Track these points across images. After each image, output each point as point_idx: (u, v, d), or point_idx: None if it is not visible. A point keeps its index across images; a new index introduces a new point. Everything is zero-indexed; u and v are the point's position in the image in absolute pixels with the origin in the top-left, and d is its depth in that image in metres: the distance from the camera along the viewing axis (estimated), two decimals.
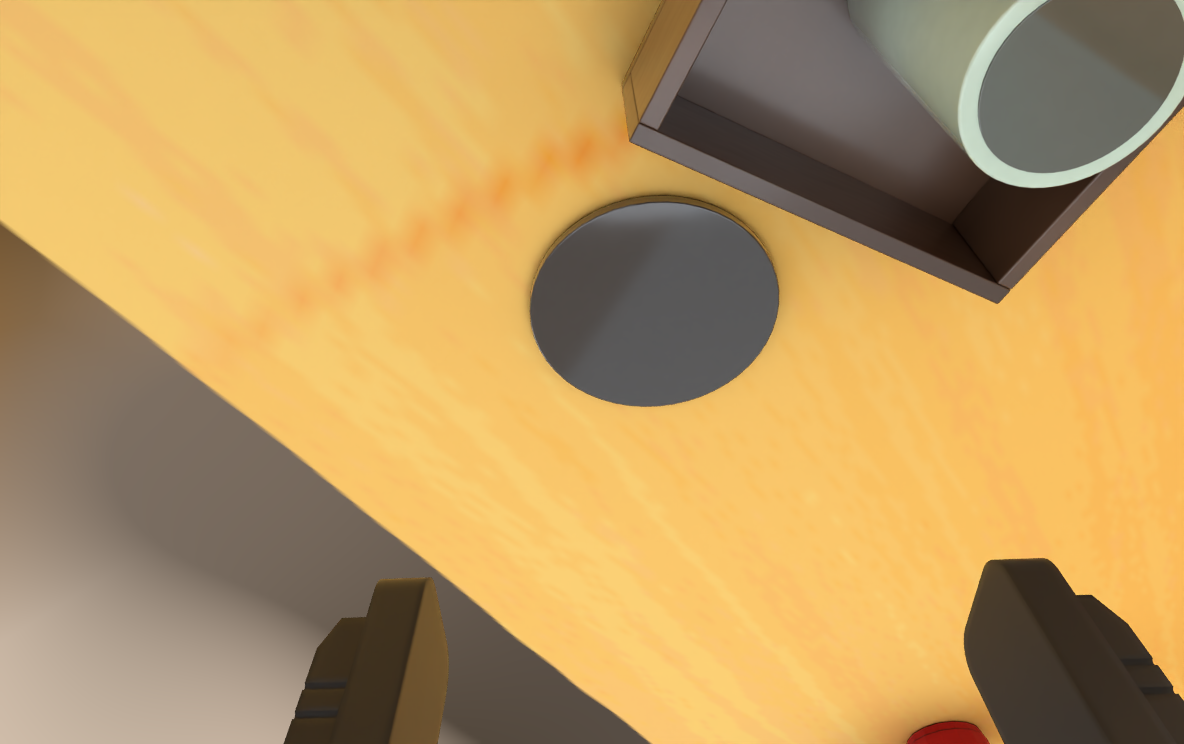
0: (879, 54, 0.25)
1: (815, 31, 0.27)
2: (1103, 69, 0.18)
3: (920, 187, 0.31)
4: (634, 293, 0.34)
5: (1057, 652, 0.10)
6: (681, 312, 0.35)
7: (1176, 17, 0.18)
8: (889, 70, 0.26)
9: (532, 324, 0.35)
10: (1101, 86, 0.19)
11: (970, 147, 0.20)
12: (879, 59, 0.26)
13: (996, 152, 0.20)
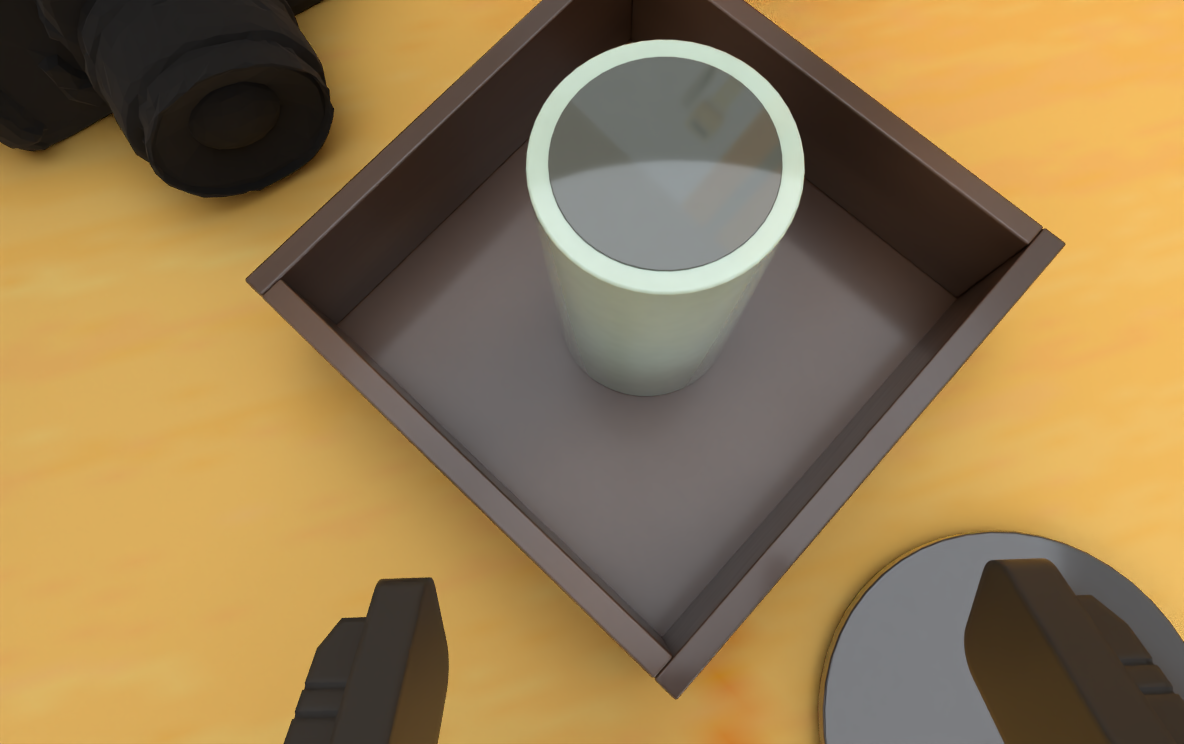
0: (678, 370, 0.22)
1: (664, 433, 0.24)
2: (656, 136, 0.16)
3: (894, 332, 0.25)
4: None
5: (1057, 652, 0.10)
6: None
7: (620, 69, 0.16)
8: (702, 361, 0.22)
9: None
10: (677, 136, 0.16)
11: (713, 280, 0.15)
12: (698, 370, 0.23)
13: (729, 248, 0.15)
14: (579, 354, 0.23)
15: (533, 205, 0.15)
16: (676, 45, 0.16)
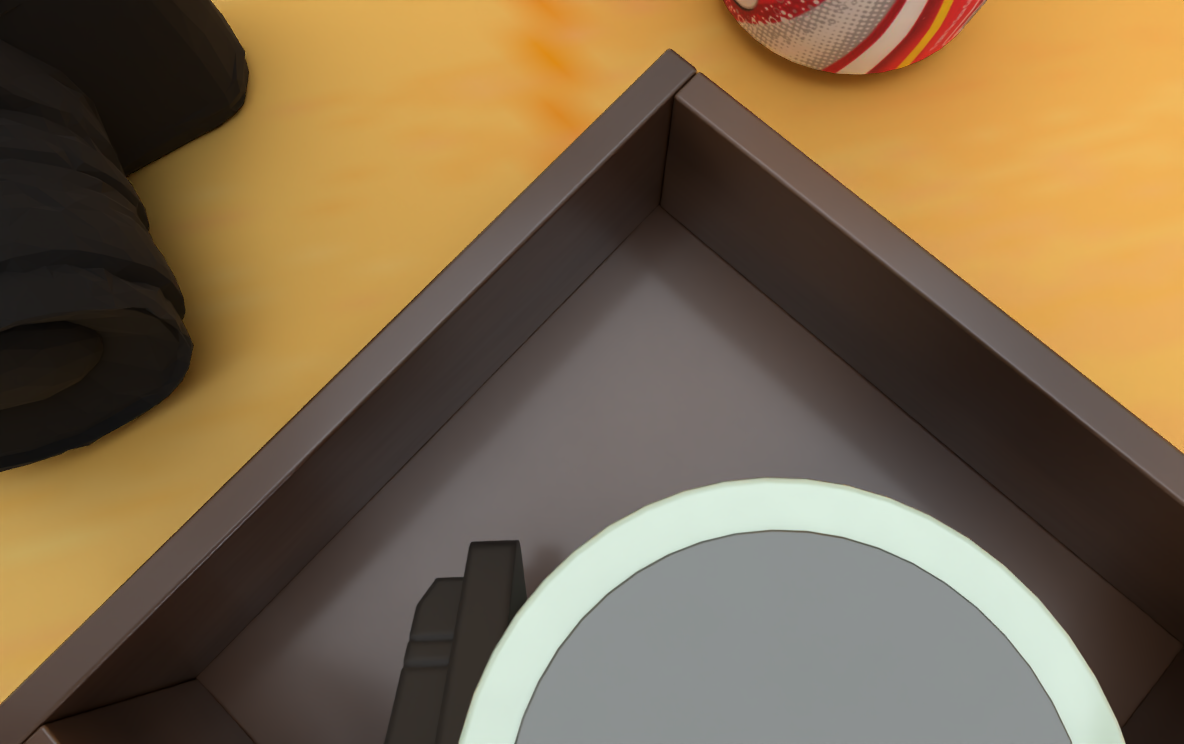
0: None
1: None
2: None
3: None
4: None
5: None
6: None
7: (681, 563, 0.07)
8: None
9: None
10: None
11: None
12: None
13: None
14: None
15: None
16: (814, 499, 0.07)
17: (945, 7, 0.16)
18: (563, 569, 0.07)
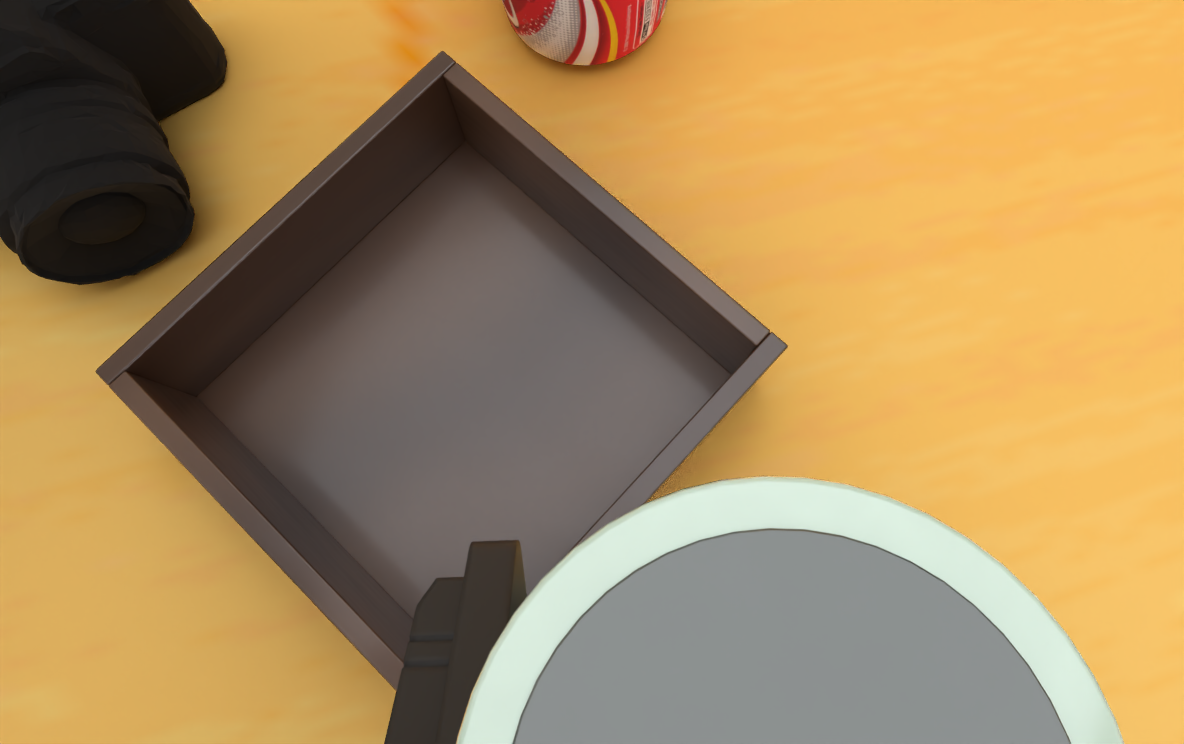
0: None
1: (475, 494, 0.28)
2: None
3: (678, 407, 0.29)
4: None
5: None
6: None
7: (678, 560, 0.07)
8: None
9: None
10: None
11: None
12: None
13: None
14: None
15: None
16: (812, 498, 0.07)
17: (612, 27, 0.29)
18: (561, 568, 0.07)
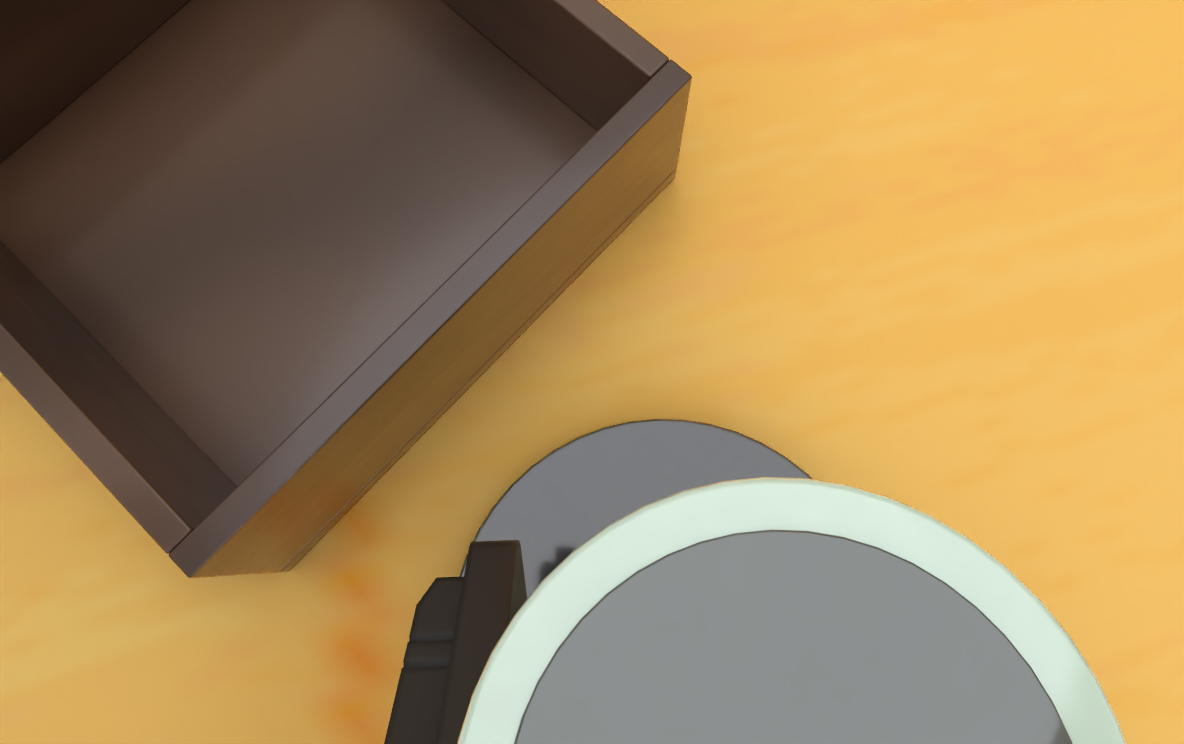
0: None
1: (307, 313, 0.22)
2: None
3: None
4: None
5: None
6: None
7: (679, 563, 0.07)
8: None
9: None
10: None
11: None
12: None
13: None
14: None
15: None
16: (814, 500, 0.07)
17: None
18: (562, 569, 0.07)
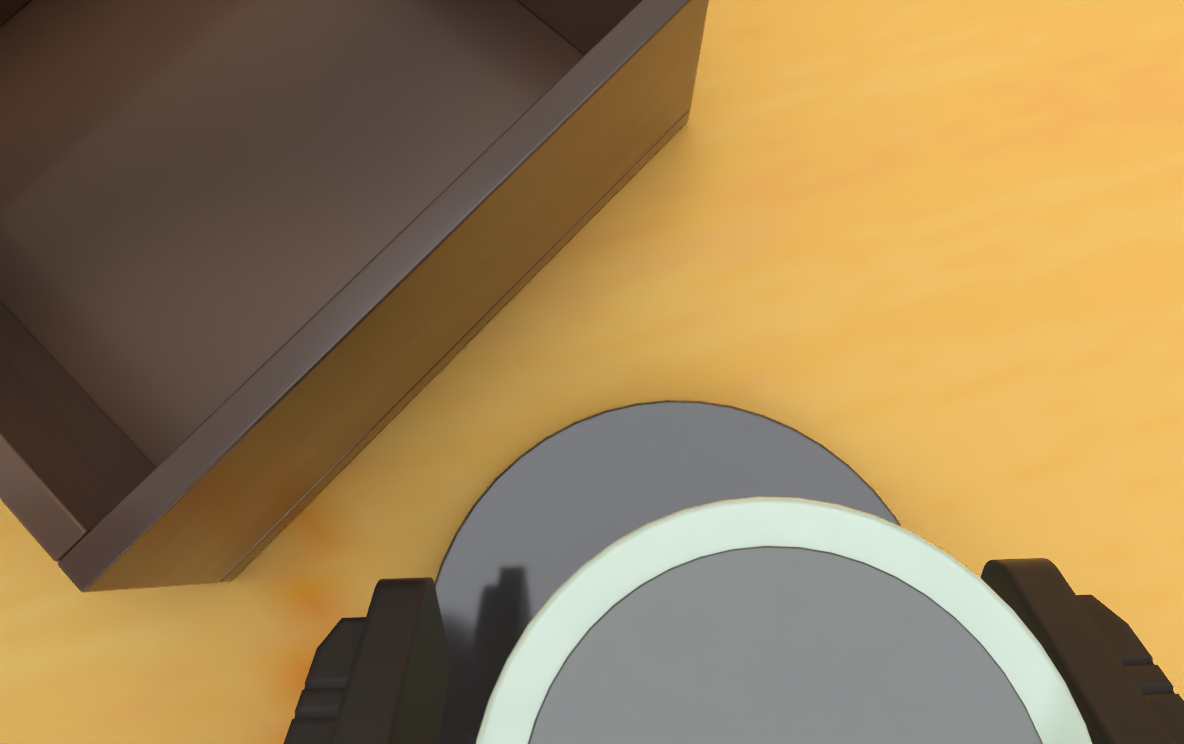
0: None
1: (256, 277, 0.19)
2: None
3: None
4: None
5: (1057, 652, 0.10)
6: None
7: (681, 576, 0.07)
8: None
9: None
10: None
11: None
12: None
13: None
14: None
15: None
16: (804, 517, 0.07)
17: None
18: (572, 582, 0.07)
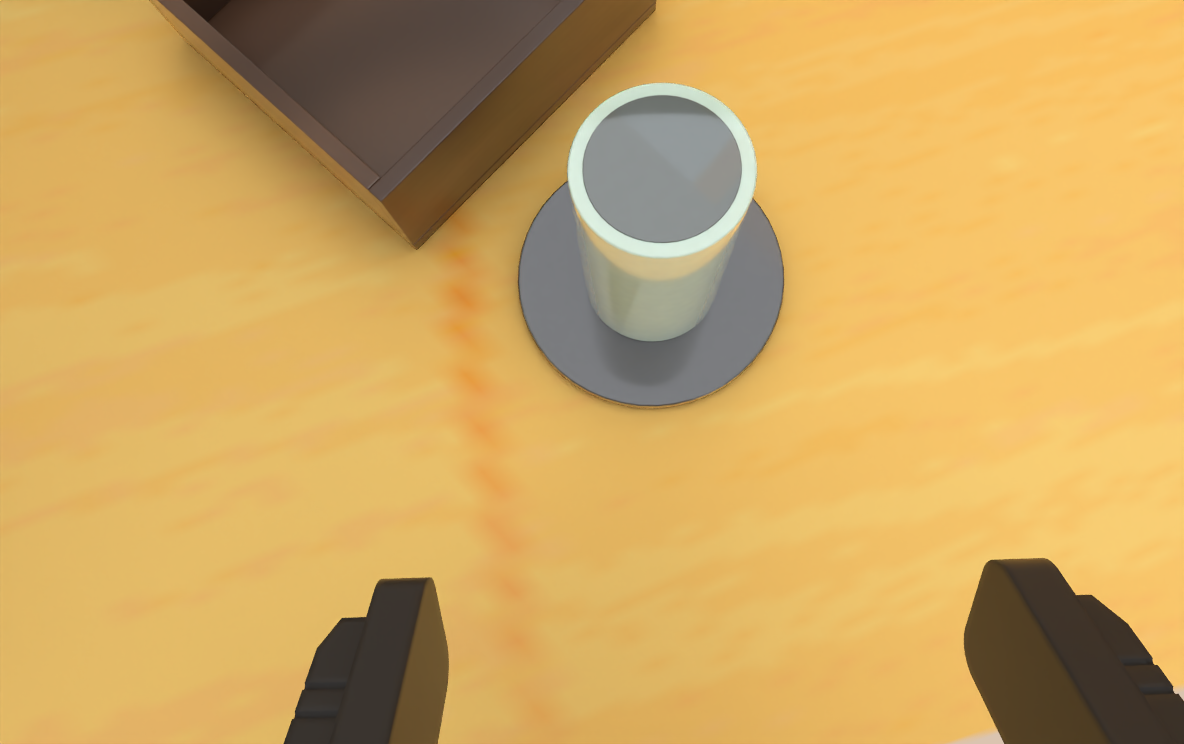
0: (676, 319, 0.29)
1: (423, 95, 0.35)
2: (656, 150, 0.23)
3: None
4: None
5: (1057, 652, 0.10)
6: None
7: (631, 104, 0.23)
8: (694, 312, 0.29)
9: (621, 401, 0.32)
10: (670, 150, 0.23)
11: (694, 248, 0.22)
12: (691, 319, 0.30)
13: (704, 227, 0.22)
14: (601, 308, 0.30)
15: (572, 199, 0.23)
16: (669, 87, 0.23)
17: None
18: (597, 107, 0.23)
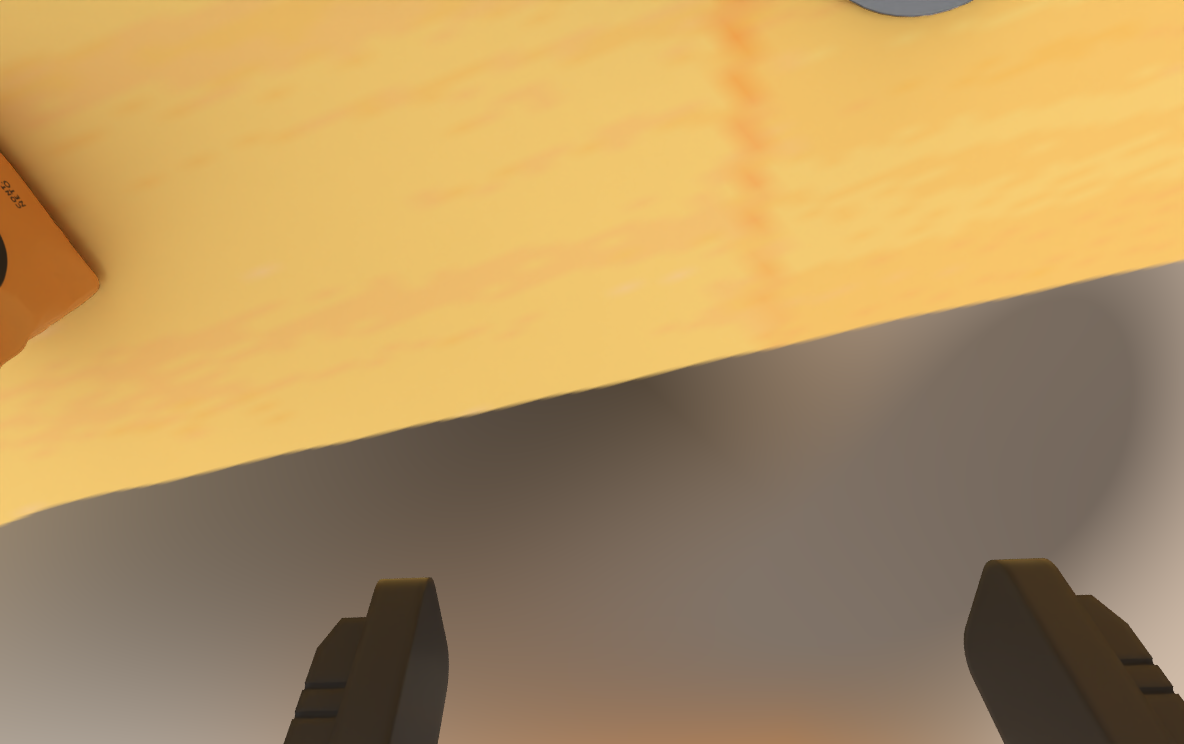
0: None
1: None
2: None
3: None
4: None
5: (1057, 652, 0.10)
6: None
7: None
8: None
9: (880, 11, 0.33)
10: None
11: None
12: None
13: None
14: None
15: None
16: None
17: None
18: None
